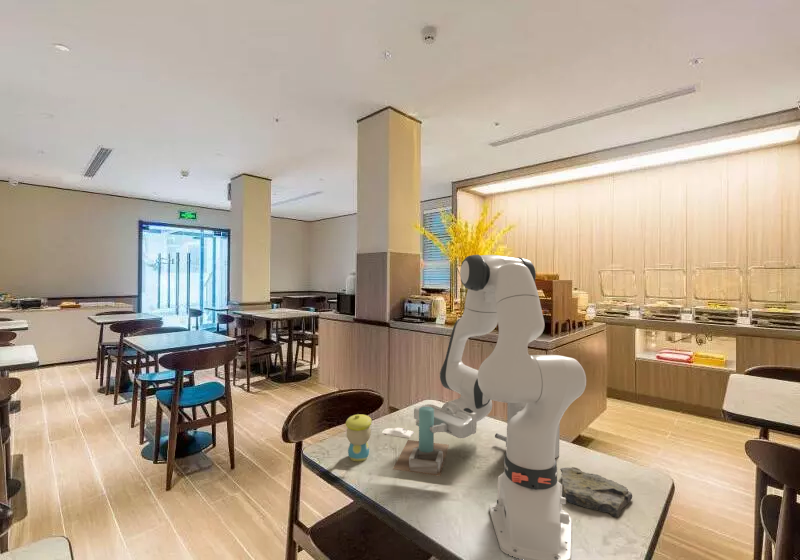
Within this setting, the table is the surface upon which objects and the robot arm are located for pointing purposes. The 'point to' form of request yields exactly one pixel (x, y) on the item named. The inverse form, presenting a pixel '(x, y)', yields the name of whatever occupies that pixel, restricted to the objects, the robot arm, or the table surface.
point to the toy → (358, 436)
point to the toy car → (398, 432)
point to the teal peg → (426, 429)
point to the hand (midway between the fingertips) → (424, 426)
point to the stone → (594, 491)
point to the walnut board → (422, 459)
